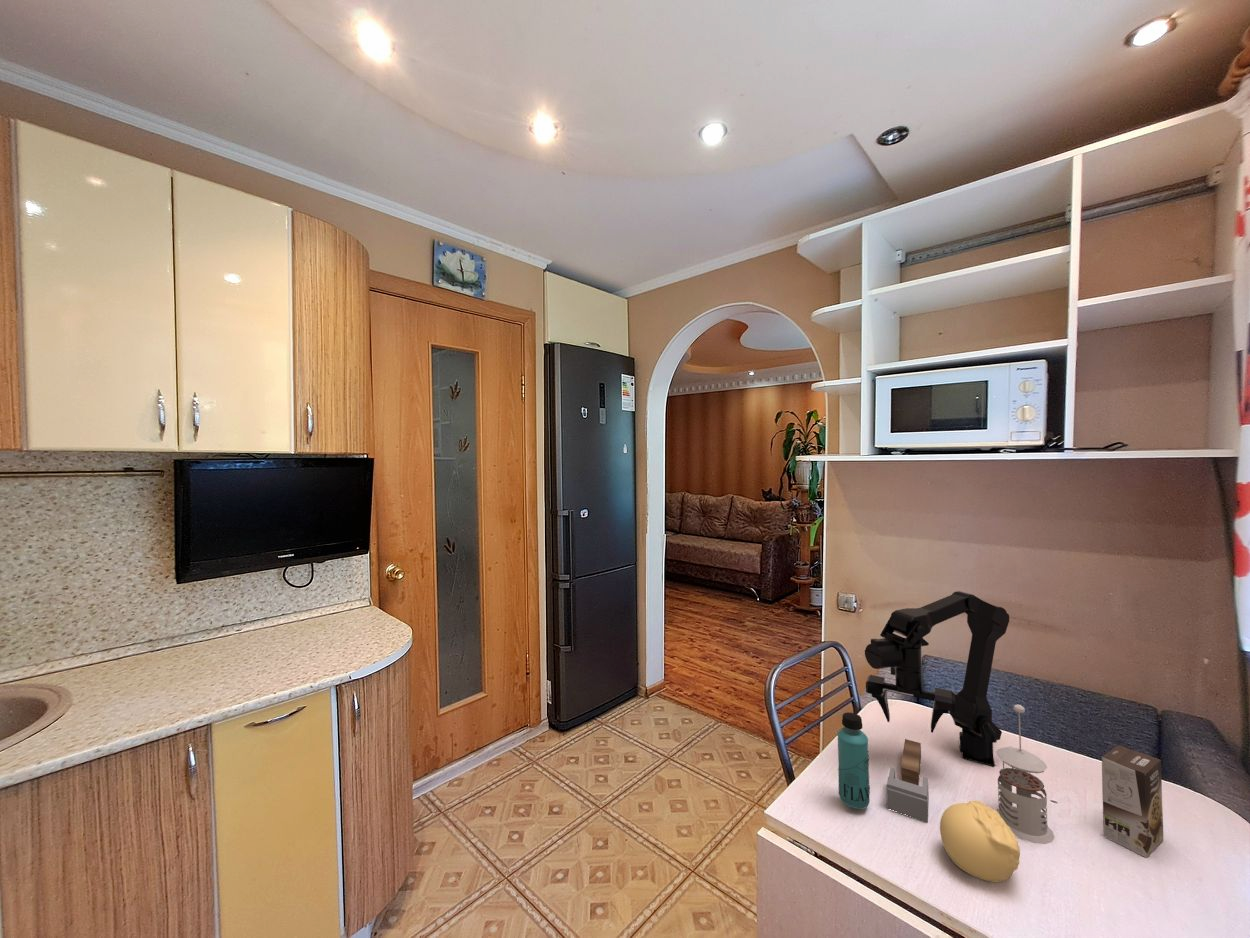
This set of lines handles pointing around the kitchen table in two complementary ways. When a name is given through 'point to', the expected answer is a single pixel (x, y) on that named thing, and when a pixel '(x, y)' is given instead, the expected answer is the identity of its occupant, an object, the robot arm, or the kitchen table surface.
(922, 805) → the endcap
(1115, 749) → the coffee box
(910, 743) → the slat
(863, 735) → the beverage bottle
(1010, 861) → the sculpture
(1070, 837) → the kitchen table surface
